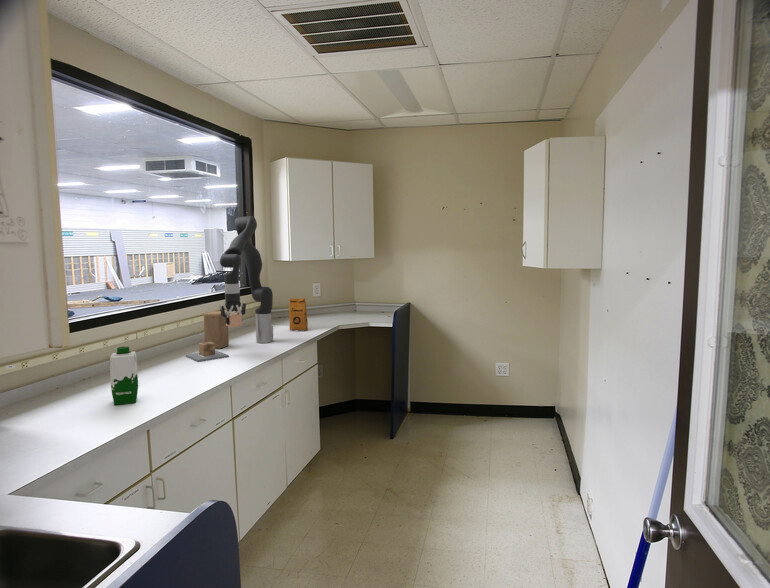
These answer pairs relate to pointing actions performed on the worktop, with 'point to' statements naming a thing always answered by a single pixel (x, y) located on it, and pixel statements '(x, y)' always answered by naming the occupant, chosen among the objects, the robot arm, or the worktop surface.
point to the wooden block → (216, 329)
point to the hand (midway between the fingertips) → (233, 323)
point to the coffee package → (298, 314)
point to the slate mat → (204, 358)
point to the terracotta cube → (235, 320)
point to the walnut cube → (207, 349)
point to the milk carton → (124, 376)
